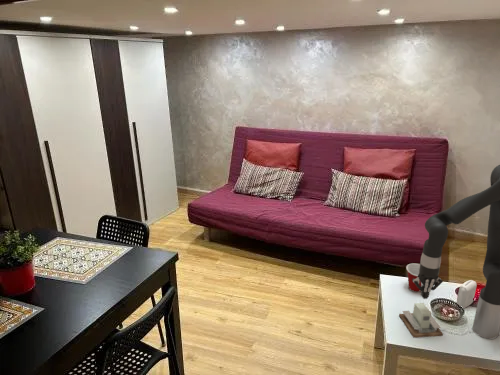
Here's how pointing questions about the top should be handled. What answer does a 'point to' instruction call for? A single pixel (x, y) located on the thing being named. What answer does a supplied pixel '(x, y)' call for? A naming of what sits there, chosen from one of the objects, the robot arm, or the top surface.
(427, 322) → the block
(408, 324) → the mounting board
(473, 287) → the white toy toaster
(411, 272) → the plastic cup
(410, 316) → the grey base plate
